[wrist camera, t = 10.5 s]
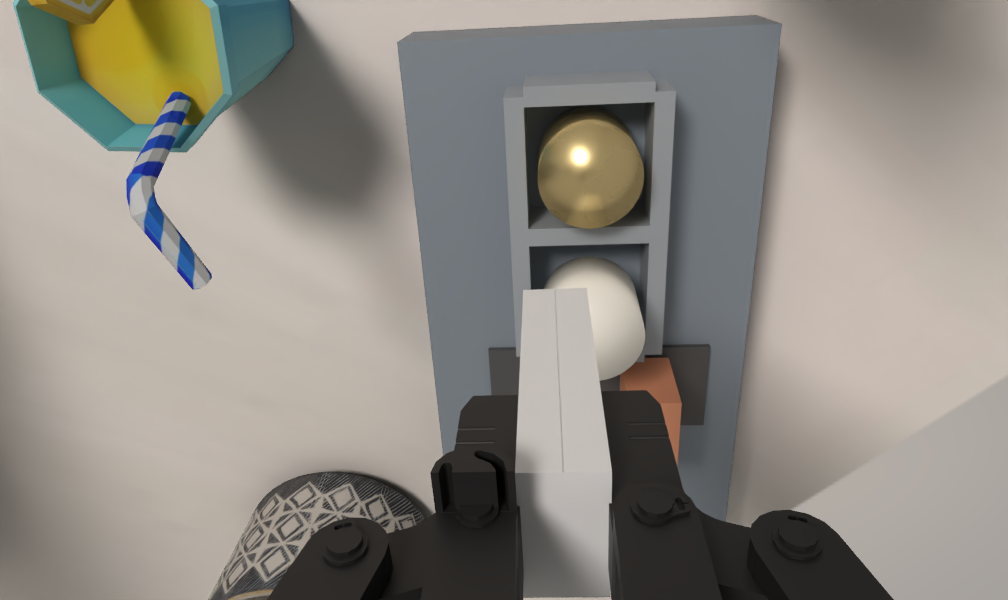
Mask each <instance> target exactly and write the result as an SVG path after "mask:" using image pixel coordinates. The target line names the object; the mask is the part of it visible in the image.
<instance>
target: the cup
mask: <svg viewBox="0 0 1008 600" xmlns="http://www.w3.org/2000/svg"><path fill="white" fill-rule="evenodd" d="M13 5H14V9H15V12H16V16H17V19H18V23H19V27H20V30H21V34H22V37H23V41H24V45H25V48H26V52H27V55H28V59H29V62H30V66H31V70H32V73H33V77H34V80H35V84H36V88H37V91H38V93H39V94H41V95H42V96H43V97H44V98H45V99H47V100H48V101H49V102H50V103H51V104H53V105H54V106H55V107H56V108H57V109H59V110H60V111H61V112H62V113H63V114H65V115H66V116H67V117H68V118H69V119H71V120H72V121H73V122H74V123H75V124H77V125H78V126H79V127H80V128H81V129H83V130H84V131H85V132H86V133H88V134H89V135H90V136H91V137H92V138H94V139H95V140H96V141H97V142H98V143H100V144H101V145H102V146H103V147H104V148H106V149H107V150H108V151H141V152H140V154H139V156H138V158H137V160H136V162H135V164H134V166H133V168H132V170H131V172H130V174H129V176H128V178H127V180H126V181H127V200H128V204H129V209H130V213H131V217H132V218H133V219H134V221H135V222H136V223H137V224H138V225H139V226H140V228H141V229H142V230H143V231H144V232H145V234H146V235H147V236H148V237H149V238H150V240H151V241H152V242H153V243H154V244H155V245H156V247H157V248H158V249H159V250H160V251H161V253H162V254H163V255H164V256H165V257H166V259H167V260H168V261H169V262H170V263H171V264H172V266H173V267H174V268H175V269H176V270H177V272H178V273H179V274H180V275H181V276H182V278H183V279H184V280H185V281H186V282H187V283H188V285H189V286H190V287H191V288H192V289H200V288H201V287H203V286H205V285H206V284H207V283H208V282H209V281H210V279H211V278H212V276H211V273H210V272H209V270H208V269H207V268H206V266H205V265H204V264H203V263H202V261H201V260H200V259H199V257H198V256H197V255H196V253H195V252H194V251H193V250H192V248H191V247H190V246H189V244H188V243H187V242H186V241H185V239H184V238H183V237H182V235H181V234H180V233H179V231H178V230H177V229H176V228H175V226H174V225H173V224H172V222H171V221H170V220H169V219H168V217H167V216H166V215H165V213H164V212H163V211H162V209H161V208H160V207H159V206H158V204H157V202H156V198H155V193H154V185H155V183H156V180H157V178H158V176H159V174H160V172H161V169H162V167H163V165H164V163H165V161H166V158H167V156H168V154H169V152H187V151H188V150H189V149H190V148H191V147H192V146H193V145H194V144H195V143H196V142H197V141H198V140H199V138H200V137H201V136H202V135H203V133H204V132H205V131H206V130H207V129H208V127H209V126H210V125H211V124H212V122H213V121H214V120H215V119H216V117H217V116H219V115H220V114H221V113H222V112H224V111H225V110H226V109H227V108H229V107H230V106H231V105H232V104H234V103H235V102H236V101H237V100H239V99H240V98H241V97H242V96H244V95H245V94H246V93H247V92H249V91H250V90H251V89H252V88H254V87H255V86H256V85H257V84H259V83H260V82H261V81H262V80H264V79H265V78H266V77H267V76H269V75H270V73H271V72H272V71H273V70H274V69H275V67H276V66H277V65H278V64H279V63H280V61H281V60H282V59H283V58H284V56H285V55H286V54H287V53H288V52H289V50H290V49H291V48H292V47H293V46H294V40H293V32H292V23H291V15H290V6H289V0H15V1H14V2H13Z"/></svg>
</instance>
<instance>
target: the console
mask: <svg viewBox="0 0 1008 600" xmlns="http://www.w3.org/2000/svg"><path fill="white" fill-rule="evenodd" d="M781 26H782V24H781V23H778V22H775V21H772V20H769V19H766V18H763V17H760V16H757V15H751V16H730V17H710V18H690V19H670V20H649V21H629V22H609V23H589V24H568V25H548V26H528V27H508V28H487V29H467V30H447V31H427V32H413V33H411V34H410V35H408V36H406V37H405V38H403V39H402V40H400V41H399V42H397V45H398V54H399V63H400V72H401V80H402V89H403V98H404V107H405V116H406V125H407V134H408V143H409V152H410V161H411V170H412V179H413V188H414V197H415V206H416V215H417V224H418V233H419V242H420V251H421V260H422V269H423V278H424V286H425V295H426V304H427V313H428V322H429V331H430V340H431V349H432V358H433V367H434V376H435V385H436V394H437V403H438V412H439V421H440V430H441V439H442V448H443V456H444V455H445V454H446V453H449V452H451V451H454V447H455V445H456V436H457V431H458V424H459V418H460V412H461V410H462V409H463V407H464V406H465V405H466V404H467V403H468V401H469V400H470V399H471V398H472V397H473V396H485V395H519V373H520V351H521V329H522V307H523V290H538V289H544V286H545V284H546V282H547V280H548V278H549V277H550V275H551V274H552V273H553V272H554V271H555V270H556V269H557V268H558V267H559V266H561V265H562V264H564V263H566V262H568V261H570V260H573V259H575V258H580V257H587V256H592V257H601V258H605V259H608V260H610V261H612V262H614V263H616V264H618V265H619V266H620V267H622V268H623V269H624V270H625V271H626V272H627V274H628V275H629V276H630V278H631V280H632V282H633V284H634V287H635V291H636V295H637V299H638V303H639V307H640V311H641V315H642V319H643V323H644V328H645V343H644V347H643V350H642V352H641V354H640V356H639V357H638V359H637V360H636V362H644V358H669V361H670V364H671V368H672V371H673V375H674V378H675V382H676V385H677V388H678V392H679V395H680V399H681V402H682V407H681V421H680V435H679V449H678V464H677V468H678V472H679V475H680V479H681V483H682V487H683V490H684V492H685V494H686V495H688V496H689V497H690V498H691V499H692V501H693V502H694V504H695V506H696V507H697V508H698V509H699V510H700V511H702V512H703V513H705V514H707V515H709V516H711V517H713V518H715V519H718V520H721V521H724V522H726V513H727V504H728V495H729V486H730V477H731V469H732V460H733V451H734V442H735V433H736V424H737V415H738V407H739V398H740V389H741V380H742V371H743V362H744V353H745V345H746V336H747V327H748V318H749V309H750V300H751V292H752V283H753V274H754V265H755V256H756V247H757V238H758V230H759V221H760V212H761V203H762V194H763V185H764V176H765V168H766V159H767V150H768V141H769V132H770V123H771V114H772V106H773V97H774V88H775V79H776V70H777V61H778V53H779V44H780V35H781ZM583 107H594V108H600V109H603V110H606V111H608V112H611V113H612V114H614V115H615V116H617V117H618V118H619V119H620V120H621V121H622V122H623V123H624V124H625V125H626V127H627V128H628V130H629V131H630V133H631V136H632V138H633V140H634V143H635V145H636V147H637V149H638V152H639V154H640V156H641V159H642V163H643V167H644V184H643V188H642V191H641V194H640V197H639V198H638V200H637V202H636V204H635V205H634V206H633V208H632V209H631V210H630V211H629V212H628V213H627V214H626V215H625V216H624V217H622V218H621V219H619V220H618V221H616V222H614V223H612V224H610V225H607V226H604V227H600V228H592V229H587V228H578V227H574V226H571V225H568V224H566V223H564V222H562V221H561V220H559V219H558V218H556V217H555V216H554V215H553V214H552V213H551V212H550V211H549V210H548V208H547V207H546V206H545V204H544V202H543V200H542V198H541V195H540V192H539V188H538V161H539V148H540V144H541V140H542V138H543V136H544V133H545V132H546V130H547V129H548V127H549V126H550V125H551V124H552V123H553V122H554V121H555V120H556V119H557V118H558V117H560V116H561V115H562V114H564V113H566V112H568V111H571V110H573V109H577V108H583ZM600 388H601V391H620V375H618V376H615V377H613V378H610V379H606V380H601V381H600Z"/></svg>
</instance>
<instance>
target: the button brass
mask: <svg viewBox="0 0 1008 600" xmlns="http://www.w3.org/2000/svg"><path fill="white" fill-rule="evenodd" d="M643 184H644V167H643V163H642V159H641V156H640V154H639V152H638V149H637V147H636V145H635V143H634V140H633V138H632V136H631V133H630V131H629V130H628V128H627V127H626V125H625V124H624V123H623V122H622V121H621V120H620V119H619V118H618V117H617V116H615V115H614V114H612V113H611V112H608V111H606V110H603V109H600V108H594V107H583V108H577V109H573V110H571V111H568V112H566V113H564V114H562V115H561V116H560V117H558V118H557V119H556V120H555V121H554V122H553V123H552V124H551V125H550V126H549V127H548V129H547V130H546V132H545V133H544V136H543V138H542V140H541V144H540V148H539V161H538V188H539V192H540V195H541V198H542V200H543V202H544V204H545V206H546V207H547V208H548V210H549V211H550V212H551V213H552V214H553V215H554V216H555V217H556V218H558V219H559V220H561V221H562V222H564V223H566V224H568V225H571V226H574V227H578V228H587V229H592V228H600V227H604V226H607V225H610V224H612V223H614V222H616V221H618V220H619V219H621V218H622V217H624V216H625V215H626V214H627V213H628V212H629V211H630V210H631V209H632V208H633V206H634V205H635V204H636V202H637V200H638V198H639V197H640V194H641V191H642V188H643Z"/></svg>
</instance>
